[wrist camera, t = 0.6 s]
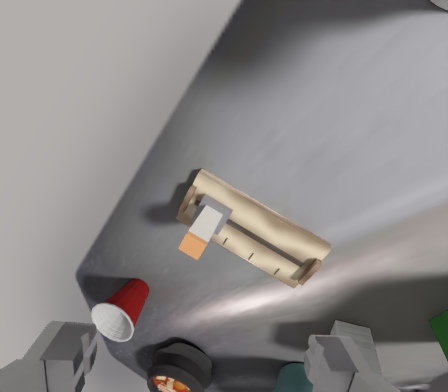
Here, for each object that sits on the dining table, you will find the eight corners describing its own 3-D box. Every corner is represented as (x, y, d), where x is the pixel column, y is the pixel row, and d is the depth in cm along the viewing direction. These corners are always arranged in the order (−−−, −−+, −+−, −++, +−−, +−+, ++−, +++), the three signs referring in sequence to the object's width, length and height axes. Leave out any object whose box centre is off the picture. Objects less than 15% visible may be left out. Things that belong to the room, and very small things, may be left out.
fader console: (202, 168, 52) (195, 175, 49) (330, 243, 52) (331, 255, 48) (179, 213, 58) (172, 222, 55) (294, 281, 58) (293, 294, 54)
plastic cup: (150, 269, 67) (122, 308, 57) (163, 303, 72) (139, 344, 61) (114, 269, 71) (81, 305, 60) (128, 300, 75) (100, 339, 65)
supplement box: (326, 340, 62) (331, 400, 51) (335, 318, 59) (341, 377, 48) (360, 350, 61) (373, 413, 50) (371, 328, 58) (387, 390, 47)
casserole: (196, 396, 87) (186, 426, 80) (145, 367, 88) (130, 394, 80) (229, 359, 75) (220, 391, 67) (169, 325, 75) (155, 353, 68)
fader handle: (205, 193, 51) (182, 224, 42) (233, 210, 51) (216, 244, 42) (193, 216, 54) (169, 249, 45) (219, 232, 54) (200, 268, 45)
